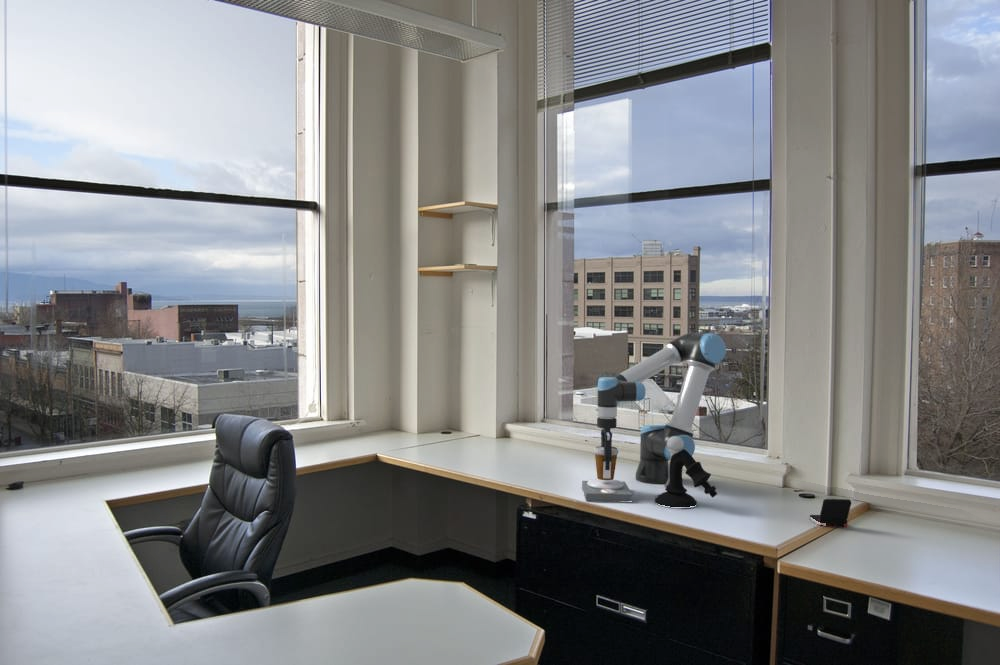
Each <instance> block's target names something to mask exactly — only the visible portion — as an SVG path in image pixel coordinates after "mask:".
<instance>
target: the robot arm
mask: <svg viewBox="0 0 1000 665" xmlns="http://www.w3.org/2000/svg"><path fill="white" fill-rule="evenodd" d="M726 354H727V348H726V344H725V342H724V340H723V338H722V337H721V336H719V335H718V334H715V333H710V332H707V333H705V332H693V331H692V332H688V333H684V334H682V335H681V336H679V337H676V338H675V339H673V340H671V341H670V342H668V343H666V344H665V345H664V348H662V349H660V350H659V351H657V352H655V353H654V354H651V355H650V356H648V357H646V358H645V359H643V360H642V361H640V362H638V363H637V364H634V365H633V366H631V367H629V368H628V369H626V370H624V371H622V372H620V373H619V374H617V375H615V376H613V377H610V376H609V377H608V376H602V377H599V378H598V382H597V407H596V409H595V411H596V412H597V413H596V414H597V418H596V426H597V428H600V429H601V430H600V437H601V438H600V440H601V441H600V446H602V447H604V460H602V461H604V466H603V478H611V461H612V447H613V446H612V445H613V444H612V442H613V440H612V439H613V432H612V431H611V429H615V428H617V420H618V419H617V417H618V402H619V403H621V402H640V401H643V400H644V399H645V397H646V391H647V390H646V387H645V384H644V383H643V382H645V381H646V380H649V379H650V378H652V377H653V376H655V375H656V374H658V373H660V372H662V371H664V370H665V369H667V368H668V367H671V366H672V365H674V364H675V365H679V364H680V363H682V362H686V364H687V366H688V367H687V371H686V373H685V375H684V379H683V381H682V382H683V383H682V385H681V388H680V391H679V394H678V396H677V397H678V398H677V401H676V404H675V407H674V410H673V413H672V415H671V419H670V421H669V422H667V423H665V424H650V425H649V424H648V425H642V426H641V428H640V434H639V436H640V442H639V443H640V446H639V448H640V450H639V451H640V453H639V457H640V458H639V462H638V466H637V469H636V470H635V480H636V481H638V480H639V481H638V482H642V483H646V482H648V484H666V482H667V480H668V479H669V477H668V476H669V475H668V471H669V470H668V469H669V468H668V467H669V462H670V461H669V460H671V459H670V451H669V450H670V449H669V448H668V446H667V441H668V439H669V438H670V437H672V436H678V437H680V438H682V440H683V442H684V446H683V448H684V449H685V450H686V451H687V452H688V453H689V454H690V455H691V456H692V457H693V455H694V453H695V450H696V445H695V441H694V439H693V437H694V431H693V430H692V429H693V428H692V427H693V426H694V425H693V424H694V422H695V418H696V417H697V416H696V414H697V412H698V410H699V409H698V408H699V406H700V403H701V400H702V398H703V397H702V396H703V393H704V390H705V387H706V384H707V382H708V378H709V375H710V373H711V372H713V371H714V370H715V369H716V366H717V364H719V363H720V362H722V361H723V360H724V359H725V357H726ZM607 457H609V458H607Z"/></svg>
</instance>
